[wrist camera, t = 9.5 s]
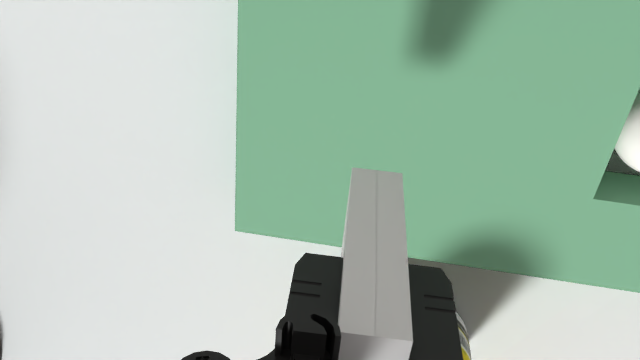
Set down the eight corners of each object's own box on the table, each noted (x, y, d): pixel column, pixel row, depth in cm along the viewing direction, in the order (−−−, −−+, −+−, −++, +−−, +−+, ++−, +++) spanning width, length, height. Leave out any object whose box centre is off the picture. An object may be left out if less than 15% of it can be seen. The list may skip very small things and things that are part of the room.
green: (248, 200, 27) (235, 230, 25) (257, -128, 20) (239, -123, 18) (717, 270, 26) (744, 308, 24) (914, -53, 19) (978, -38, 17)
